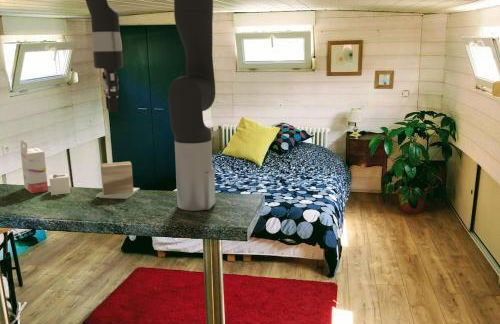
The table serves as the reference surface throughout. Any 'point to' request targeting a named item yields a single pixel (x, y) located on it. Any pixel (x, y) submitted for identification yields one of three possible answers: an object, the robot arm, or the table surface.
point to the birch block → (117, 177)
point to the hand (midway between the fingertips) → (112, 110)
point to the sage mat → (119, 195)
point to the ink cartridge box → (34, 169)
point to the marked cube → (59, 184)
